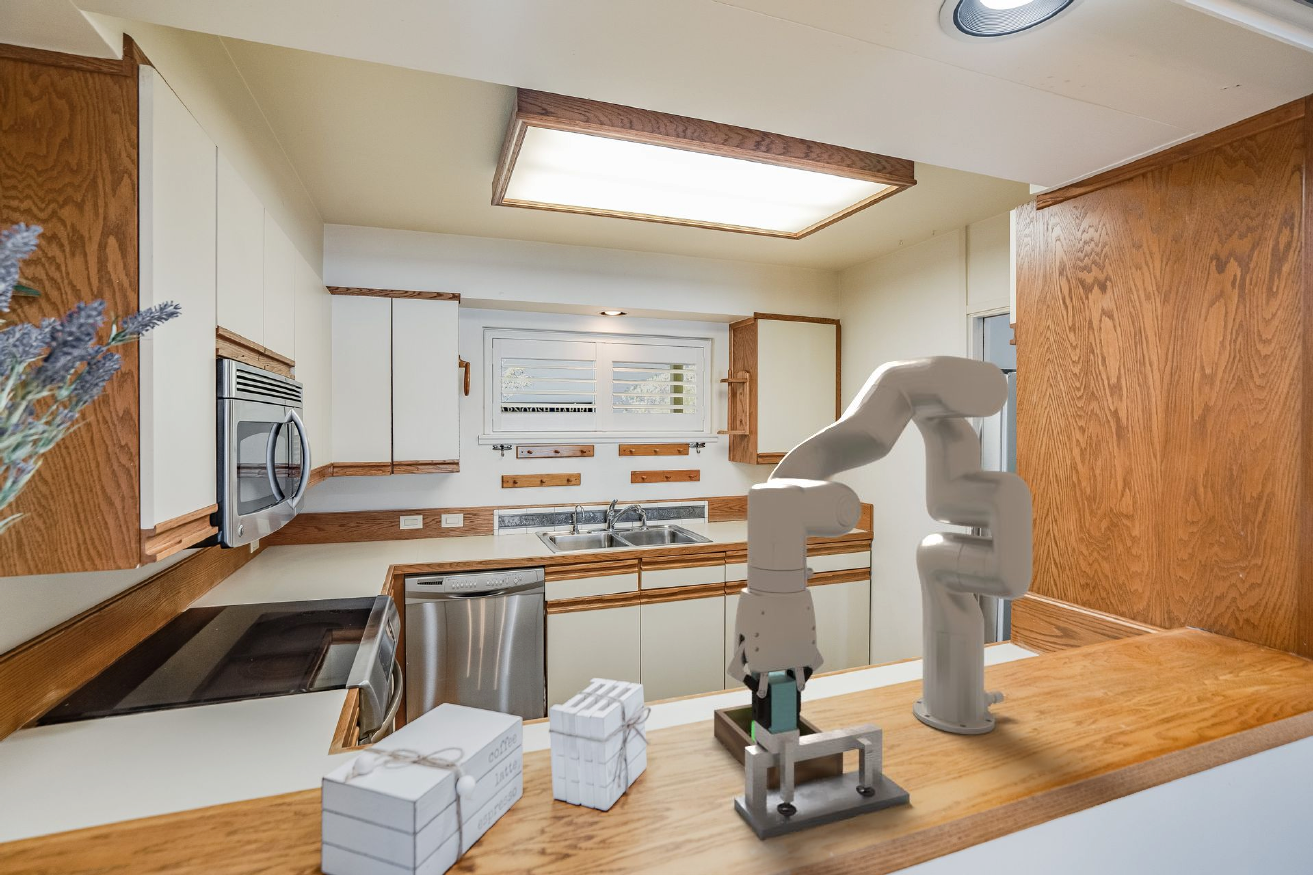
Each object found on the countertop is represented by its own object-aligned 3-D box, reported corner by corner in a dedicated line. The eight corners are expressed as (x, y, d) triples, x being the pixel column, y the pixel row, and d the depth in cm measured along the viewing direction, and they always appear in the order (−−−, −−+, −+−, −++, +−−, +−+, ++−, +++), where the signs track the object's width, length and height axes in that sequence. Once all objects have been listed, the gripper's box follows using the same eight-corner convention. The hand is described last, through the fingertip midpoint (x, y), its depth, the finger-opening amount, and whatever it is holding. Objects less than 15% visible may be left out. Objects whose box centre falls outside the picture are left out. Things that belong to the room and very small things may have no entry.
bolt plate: (873, 775, 87) (873, 765, 87) (909, 802, 80) (909, 792, 80) (734, 806, 79) (734, 796, 79) (761, 840, 72) (761, 829, 72)
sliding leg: (780, 781, 82) (780, 669, 82) (803, 803, 77) (803, 684, 77) (754, 787, 80) (754, 673, 80) (775, 810, 75) (775, 689, 75)
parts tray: (778, 723, 103) (778, 699, 103) (843, 775, 87) (843, 746, 87) (714, 734, 98) (714, 709, 98) (768, 791, 82) (769, 761, 83)
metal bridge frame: (872, 780, 85) (872, 722, 85) (893, 796, 81) (893, 735, 82) (744, 809, 78) (745, 747, 78) (761, 828, 75) (761, 762, 75)
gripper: (814, 569, 85) (814, 700, 85) (705, 577, 80) (705, 719, 80) (848, 580, 78) (848, 724, 78) (732, 591, 73) (732, 746, 73)
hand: (776, 720), depth 79 cm, fingers closed on sliding leg, 3 cm apart
